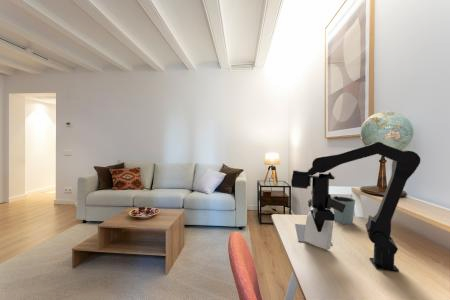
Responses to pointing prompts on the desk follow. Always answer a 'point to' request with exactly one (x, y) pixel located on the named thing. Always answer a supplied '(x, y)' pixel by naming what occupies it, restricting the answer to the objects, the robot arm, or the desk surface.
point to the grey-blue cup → (345, 212)
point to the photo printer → (318, 233)
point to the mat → (302, 233)
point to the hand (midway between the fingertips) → (319, 231)
